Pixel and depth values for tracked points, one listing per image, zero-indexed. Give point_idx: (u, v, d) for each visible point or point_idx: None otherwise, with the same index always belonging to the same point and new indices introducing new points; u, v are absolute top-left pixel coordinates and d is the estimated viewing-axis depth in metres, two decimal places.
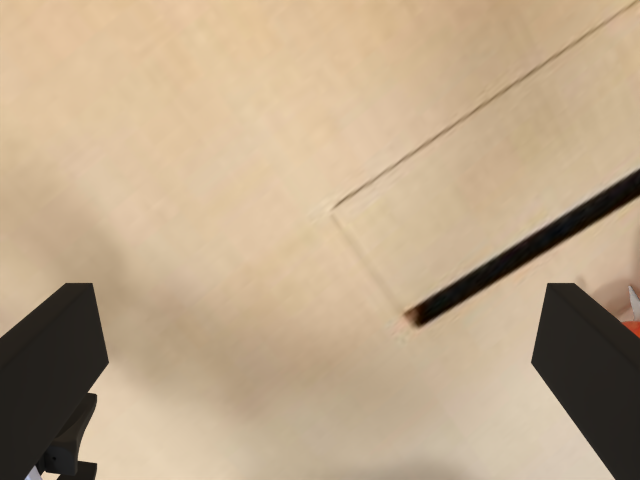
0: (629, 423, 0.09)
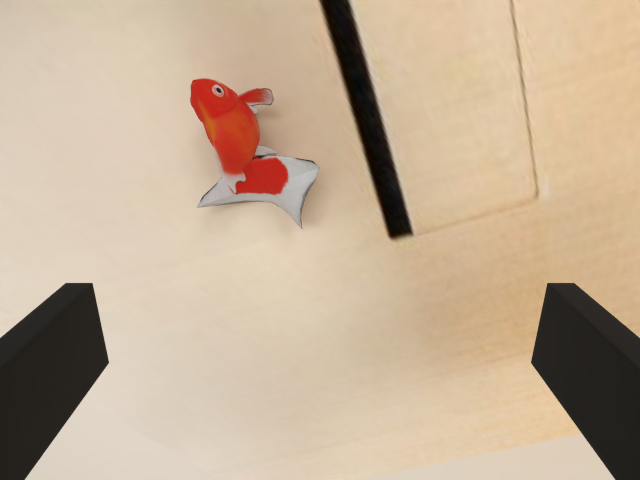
0: (629, 423, 0.09)
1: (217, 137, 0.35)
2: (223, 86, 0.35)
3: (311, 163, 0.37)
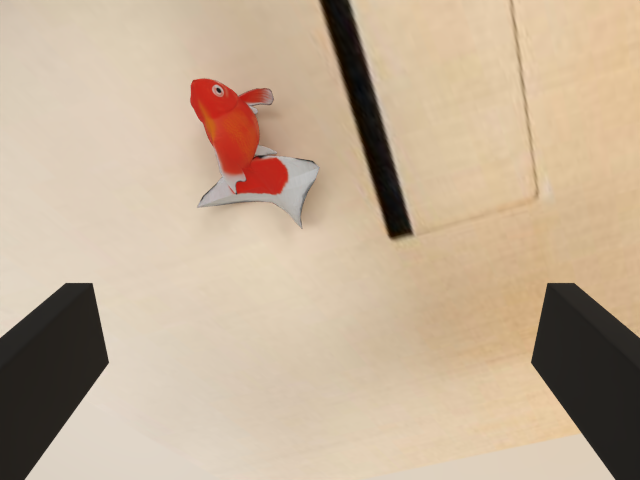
0: (629, 423, 0.09)
1: (217, 137, 0.35)
2: (223, 86, 0.35)
3: (311, 163, 0.37)
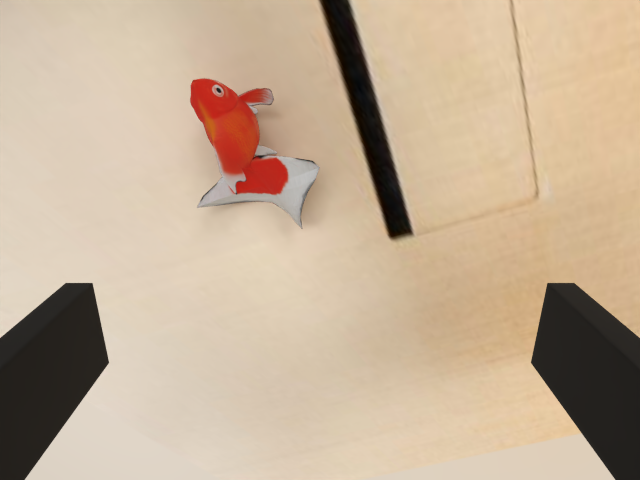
0: (629, 423, 0.09)
1: (217, 137, 0.35)
2: (223, 86, 0.35)
3: (311, 163, 0.37)
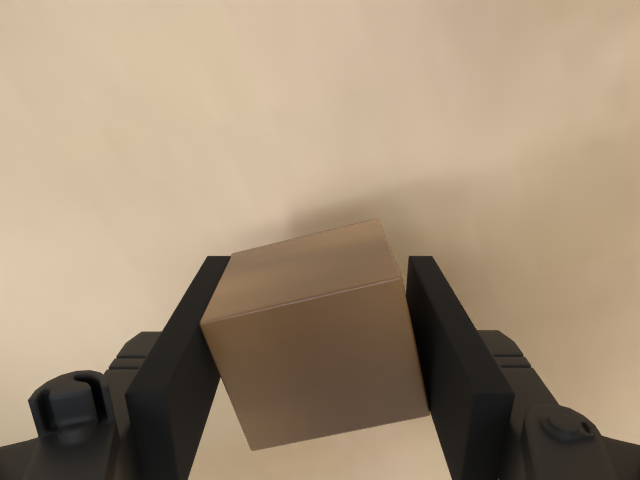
0: (435, 365, 0.11)
1: None
2: None
3: None
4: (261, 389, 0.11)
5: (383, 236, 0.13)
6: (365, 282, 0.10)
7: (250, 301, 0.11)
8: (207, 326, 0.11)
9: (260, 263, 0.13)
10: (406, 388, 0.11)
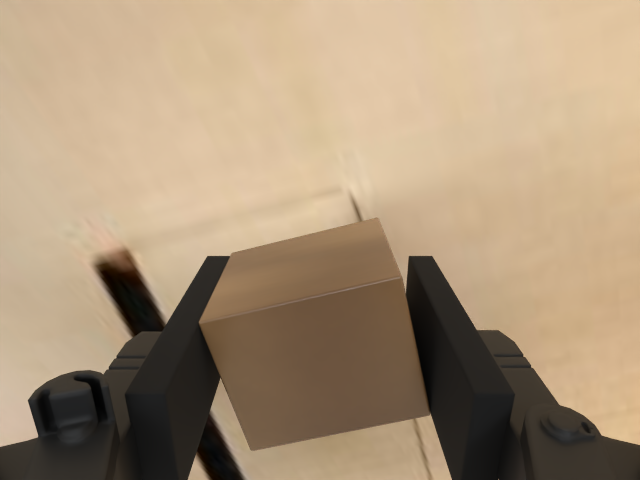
0: (435, 365, 0.11)
1: None
2: None
3: None
4: (261, 389, 0.11)
5: (383, 235, 0.12)
6: (365, 280, 0.10)
7: (250, 301, 0.11)
8: (207, 326, 0.10)
9: (260, 263, 0.13)
10: (406, 388, 0.11)
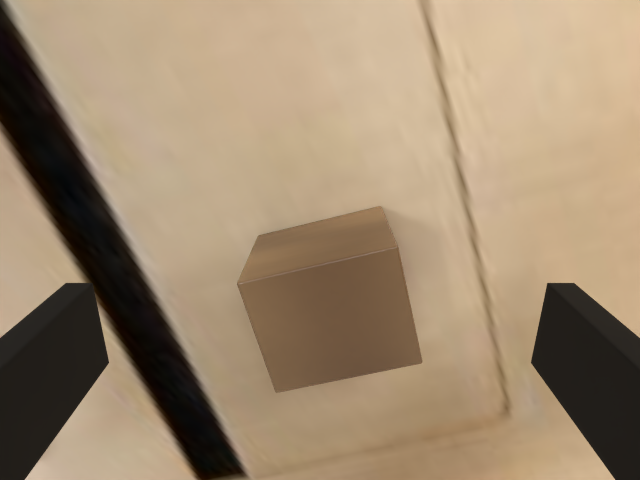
0: (629, 423, 0.09)
1: None
2: None
3: None
4: (285, 339, 0.14)
5: (384, 219, 0.15)
6: (369, 250, 0.13)
7: (278, 267, 0.14)
8: (244, 286, 0.13)
9: (283, 241, 0.16)
10: (402, 339, 0.14)
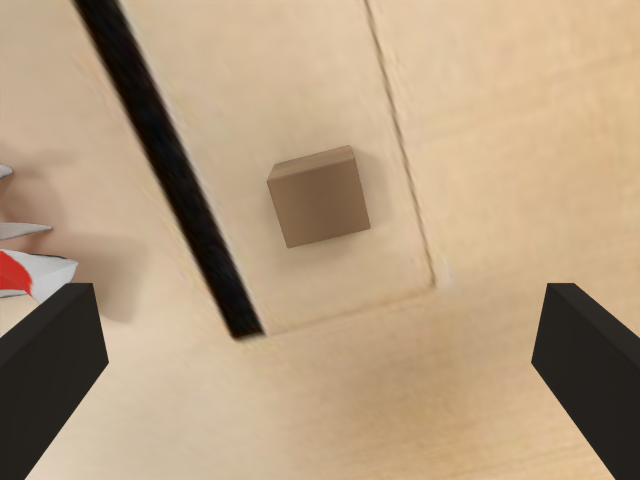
0: (629, 423, 0.09)
1: None
2: None
3: (58, 259, 0.24)
4: (293, 214, 0.25)
5: (350, 149, 0.26)
6: (339, 161, 0.24)
7: (289, 172, 0.24)
8: (270, 182, 0.24)
9: (290, 164, 0.27)
10: (358, 213, 0.25)
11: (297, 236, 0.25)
